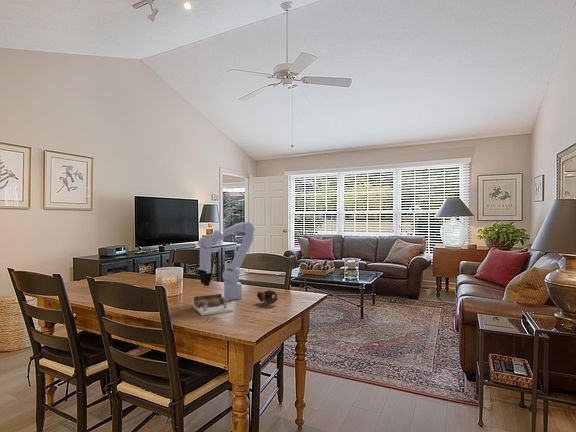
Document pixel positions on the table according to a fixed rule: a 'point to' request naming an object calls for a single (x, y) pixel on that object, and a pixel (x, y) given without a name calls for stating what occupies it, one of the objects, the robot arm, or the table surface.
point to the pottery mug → (267, 297)
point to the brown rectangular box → (208, 300)
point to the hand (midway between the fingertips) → (205, 284)
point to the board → (213, 308)
